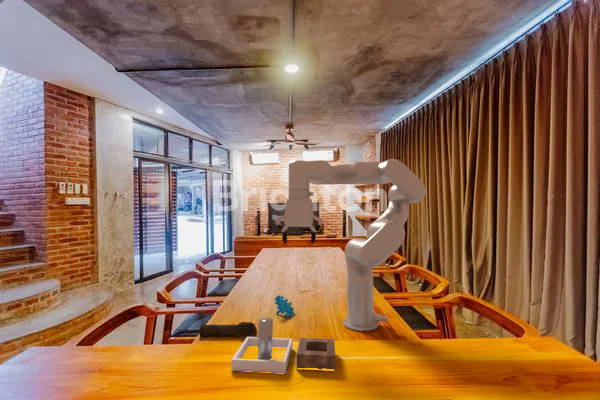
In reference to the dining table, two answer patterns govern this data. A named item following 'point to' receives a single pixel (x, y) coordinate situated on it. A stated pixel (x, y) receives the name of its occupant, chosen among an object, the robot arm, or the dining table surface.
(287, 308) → the teal knobbly figurine
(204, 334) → the hand tool
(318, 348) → the socket block
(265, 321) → the pin
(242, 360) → the tray
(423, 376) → the dining table surface
